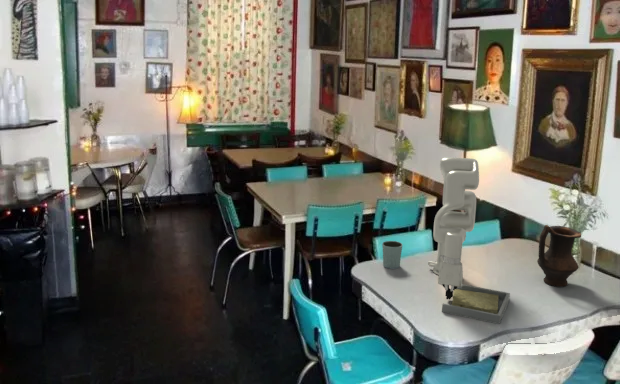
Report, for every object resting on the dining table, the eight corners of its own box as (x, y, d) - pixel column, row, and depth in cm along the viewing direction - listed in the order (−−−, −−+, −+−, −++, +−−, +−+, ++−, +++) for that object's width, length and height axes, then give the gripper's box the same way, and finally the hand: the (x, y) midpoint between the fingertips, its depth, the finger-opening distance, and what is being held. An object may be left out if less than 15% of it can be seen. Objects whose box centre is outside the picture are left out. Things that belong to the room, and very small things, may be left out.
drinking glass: (404, 265, 319) (405, 243, 316) (395, 271, 310) (397, 248, 308) (386, 261, 324) (387, 239, 321) (377, 266, 316) (379, 244, 313)
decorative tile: (453, 294, 285) (453, 287, 284) (498, 300, 279) (499, 293, 278) (449, 310, 267) (450, 303, 267) (498, 317, 262) (498, 309, 261)
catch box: (441, 311, 264) (442, 304, 264) (456, 290, 288) (456, 283, 287) (499, 323, 254) (500, 316, 254) (509, 300, 278) (510, 293, 277)
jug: (558, 274, 312) (565, 217, 305) (584, 287, 295) (593, 227, 288) (523, 278, 305) (529, 220, 298) (548, 292, 288) (555, 231, 281)
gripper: (433, 259, 272) (430, 297, 276) (467, 265, 265) (463, 304, 270) (437, 254, 278) (434, 292, 282) (471, 259, 272) (467, 298, 276)
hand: (448, 298), depth 276 cm, fingers closed
